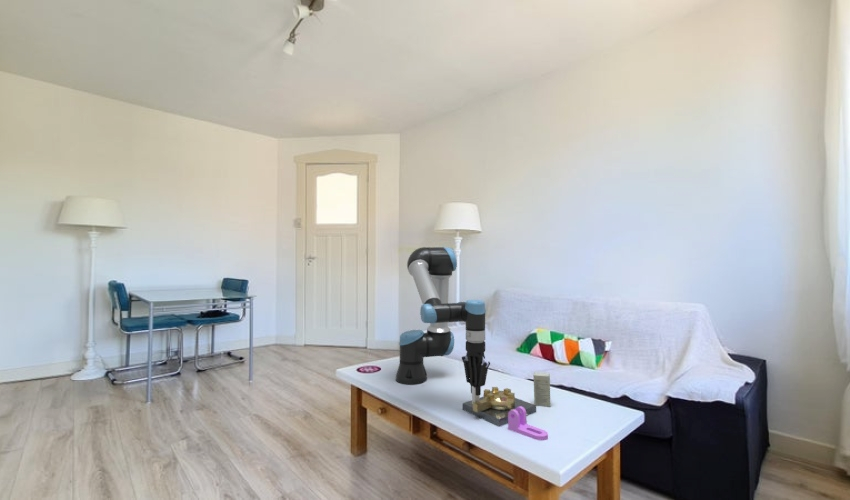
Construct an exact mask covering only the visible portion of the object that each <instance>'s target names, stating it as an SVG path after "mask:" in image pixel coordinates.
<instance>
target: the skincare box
mask: <svg viewBox="0 0 850 500" xmlns="http://www.w3.org/2000/svg"><path fill="white" fill-rule="evenodd" d="M532 375H533V400H534V405H536V406H539V407H540V406H541V407H551V404H552V403H551V384H550V383H551V382H550V381H551V379H550V377H551V376H550V373H549V372H536V371H535V372H533V374H532Z"/></svg>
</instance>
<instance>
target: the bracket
mask: <svg viewBox="0 0 850 500" xmlns="http://www.w3.org/2000/svg"><path fill="white" fill-rule="evenodd" d="M520 412H521V413H520ZM507 425H508V427H507V430H510V431H512V432H515V433H517V434H520V435H523V436H526V437H527V438H528V437H529V438H531V439H532V440H537V441H546V440H548V436H549V433H548V431H546V430H545V429H542V428H539V427H537V426H534V425H530V424H528V423H527V416H526V410H525V409H524V408H523V407H522V406H519V407H517V408H516V409H515V410H511V411H509V413H508V423H507Z"/></svg>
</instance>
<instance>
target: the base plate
mask: <svg viewBox="0 0 850 500" xmlns="http://www.w3.org/2000/svg"><path fill="white" fill-rule="evenodd" d="M480 400H483V396H480ZM519 406H522V407H523V408H524V409H525V410H526V417H527V416H529V415H533V414H536V413H537V405H534V404H533V403H529V402H528V401H525V400H522V399H519V398H516V397H515V406H514V407H513V408H511V409H505V410H499V409H493V408H489V409H486V410H483V411H480V412H475V411H473V404H472V399H471V400H468V401H465V402H462V410H463V411H465V412H467V413H469V414H471V415H473V416H476V417H478V418H480V419H482V420H484V421H486V422H489V423H491V424H492V425H495V426H498V427H502V426H504V425H506V424H507V425H508V413H509V411H511V410H515V409H516V408H517V407H519ZM520 413H521V412H520Z"/></svg>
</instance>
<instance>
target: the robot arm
mask: <svg viewBox="0 0 850 500" xmlns="http://www.w3.org/2000/svg"><path fill="white" fill-rule="evenodd" d="M457 262H458V261H457V256H456V253H455V251H454V250H453V249H452V248H451V247H444V246H443V247H442V246H441V247H440V246H438V247H435V246H434V247H429V246H428V247H425V246H422V247H419V248H417V249H414V251H412V252H411V254H410V255H409V257H408V259H407V264H406V266H407V271H408V274H409V275H410V276H412V278H413V281H414V283H415V287H416V289H417V292H418V295H419V297H420V300H421V303H422V304H421V305H420V309H419V311H420V313H419V314H420V320H421V321H422V323H424V324H429V326H428V327H427V328H426V332H424V330H422V329H411V330H408V331H404V332H402V333H401V334H400V335H399V342H398V345H399V364H398V367H397V371H396V374H395V381H396V382H397V383H400V384H402V385H403V384H404V385H419V384H423V383H425V382H427V379H428V374H427V371H426V367H425V364H424V358H432V357H444V356H449V355H451V353H452V352H453V351H454V349H455V348H454V347H455V336H454V333H453V332H452V331H451V328H450V327H449V326H448V323H453V322H454V323H458V322H459V323H462V322H464V323H465V340H466V341H465V351H466V353H465V354H466V355H464V356H461V359H462V362H463V367H464V373H465V381H466V383H468V384H469V385H470V394H471V400H472V404H473V402H477V401H480V398H481V395H482V393H481V391H482V389H481V387H484V386H485V385H486V381H487V375H488V371H489V367H490V365H491V362H490V361H487V360H486V356H485V352H486V303H485V301H484V300H483V299H482V300H481V299H468V300H466V301H458V302H452V303H451V302H450V303H449V284H450V283H449V281H450V278H451V277H452V276H453V272H454V271H456V270H457V268H458V263H457Z"/></svg>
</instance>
